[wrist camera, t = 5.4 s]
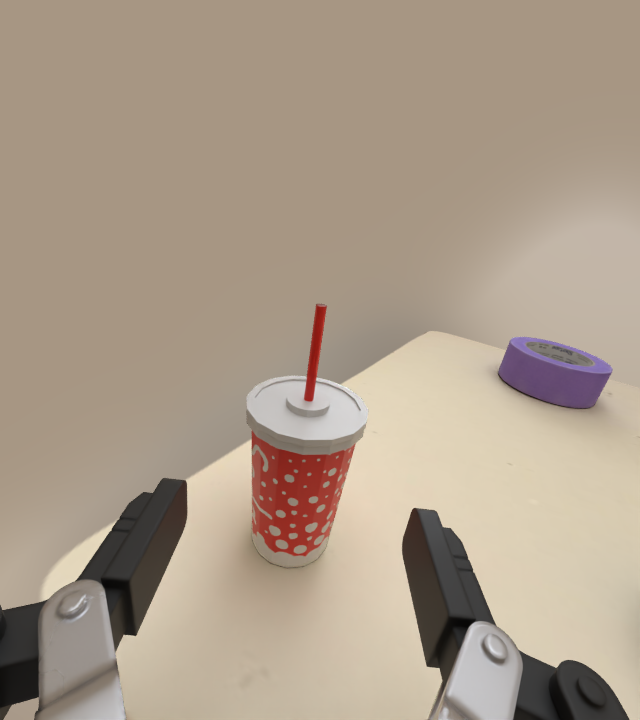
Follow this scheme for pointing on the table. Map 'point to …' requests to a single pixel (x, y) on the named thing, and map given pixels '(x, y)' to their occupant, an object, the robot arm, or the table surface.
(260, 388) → the beverage cup
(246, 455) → the table surface
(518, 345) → the tape roll
